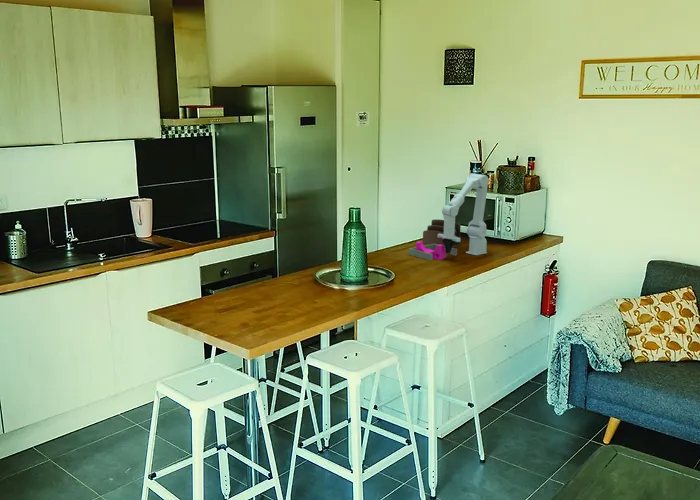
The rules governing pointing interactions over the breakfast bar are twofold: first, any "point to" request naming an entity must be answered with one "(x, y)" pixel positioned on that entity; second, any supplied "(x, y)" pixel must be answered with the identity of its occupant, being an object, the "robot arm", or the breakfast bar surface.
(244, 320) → the breakfast bar surface
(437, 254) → the toy block
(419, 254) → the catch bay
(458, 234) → the letter holder
